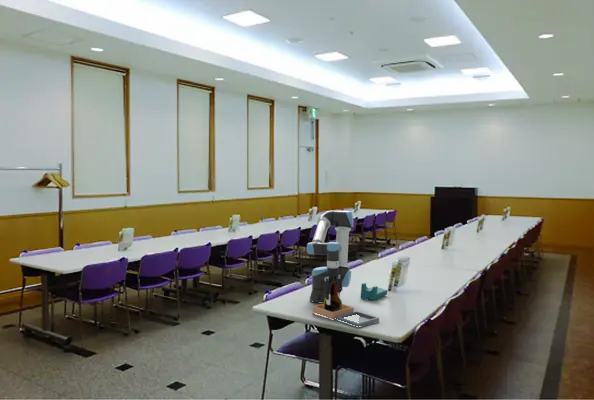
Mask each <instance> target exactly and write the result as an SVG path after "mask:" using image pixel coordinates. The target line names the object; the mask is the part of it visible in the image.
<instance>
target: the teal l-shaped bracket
mask: <svg viewBox="0 0 594 400" xmlns="http://www.w3.org/2000/svg"><path fill="white" fill-rule="evenodd" d="M360 289H361V290H360V299H362V298H363V299H362V300H366V299H368V300H373V301H376V300H377V299H379V298H383V297H385V296H387V295H388V289H385V288H380V287H378V285H374V286H372V287H369V288H368V286H367V282H362V283H361V287H360Z"/></svg>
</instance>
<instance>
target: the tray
mask: <svg viewBox="0 0 594 400" xmlns="http://www.w3.org/2000/svg"><path fill="white" fill-rule="evenodd" d="M356 314H357V315H359V316H360V317H359V321H358V322H359V323H357V322H354V321H350V320H347V319H344V317H348V316H352V315H356ZM336 319H338V320H341V321H344V322H347V323H349V324H352V325H355V326H358V327H359V326H363V327H365V326H364V325H367V326H369V325H368V324H370V325H372V324H371V323H373V324H375V323H374V322H377V323H379V322H380V317H378V316H375V315H373V314H372V315H371V314H368V313H365V312H361V311H358V310H356V311H353V312H351V313H347V314H344V315H340V316H336ZM378 321H379V322H378Z"/></svg>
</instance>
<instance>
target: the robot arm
mask: <svg viewBox="0 0 594 400" xmlns="http://www.w3.org/2000/svg"><path fill="white" fill-rule="evenodd" d="M353 217H354V216H353V212H352V211H351V210H327V211H325V212H323V213H322V214H320V216H319V217H318V218H317V222H316V229H315V232H314V235H313V239H312V241H311V242H308V243H307V244H306V253H307V254H308V255H324V256H325V255H326V266H319V267H315V268H313V269H312V271H311V293H310V295H309V302H310V301H313V302H324V299H325V298H326V304H327V305H330V290H331V286H332V284H333V283H337V284H338V285H337V288H338V297H339V298H341V293H342V292H343V288H348V287H349V286H350V283H351V281H352V280H351V278H352V269H351V270H350V267H349V265H348V258H349V257H348V255H349V239H350V238H349V235H350V234H349V233H350V231H352V228H354V226H355V225H354V218H353ZM330 227H332V228H333V227H334V230H335V231H336V238H335V241H329V242H325V240H326V236H327V232H328V229H330ZM313 302H312V303H313Z"/></svg>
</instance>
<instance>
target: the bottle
mask: <svg viewBox="0 0 594 400" xmlns="http://www.w3.org/2000/svg"><path fill="white" fill-rule="evenodd" d="M337 285H338V284H337V283H333V284H332V286H331V290H330V305H327V304H326V298H325V299H324V303H323V304H324V309H325V310H328V311H331V312H334V311H338V310H342V304H343V301H342V299H341V297H338V288H337Z"/></svg>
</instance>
